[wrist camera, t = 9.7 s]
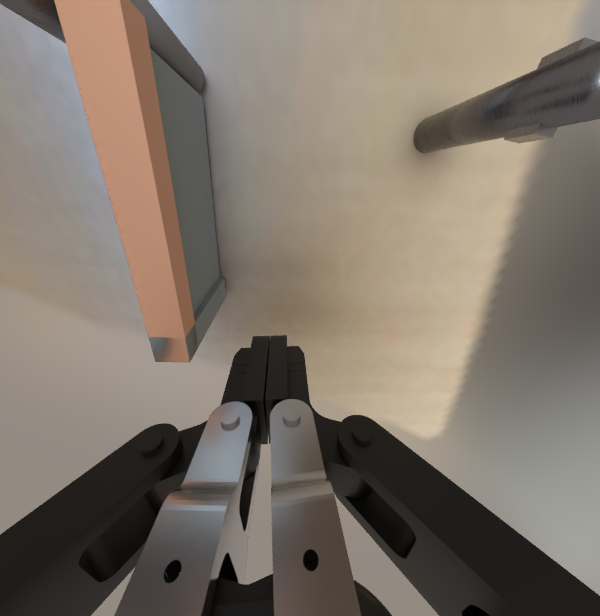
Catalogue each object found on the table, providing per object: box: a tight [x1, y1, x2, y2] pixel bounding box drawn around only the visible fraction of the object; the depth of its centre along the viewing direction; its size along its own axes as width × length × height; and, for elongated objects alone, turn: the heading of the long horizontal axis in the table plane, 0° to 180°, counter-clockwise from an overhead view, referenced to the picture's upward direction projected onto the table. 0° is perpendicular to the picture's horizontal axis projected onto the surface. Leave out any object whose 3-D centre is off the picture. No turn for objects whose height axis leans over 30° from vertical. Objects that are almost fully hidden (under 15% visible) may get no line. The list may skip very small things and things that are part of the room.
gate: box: [54, 0, 226, 362], centre depth 15 cm, size 16×2×9 cm, turn 176°
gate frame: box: [0, 0, 600, 152], centre depth 12 cm, size 22×3×12 cm, turn 80°
